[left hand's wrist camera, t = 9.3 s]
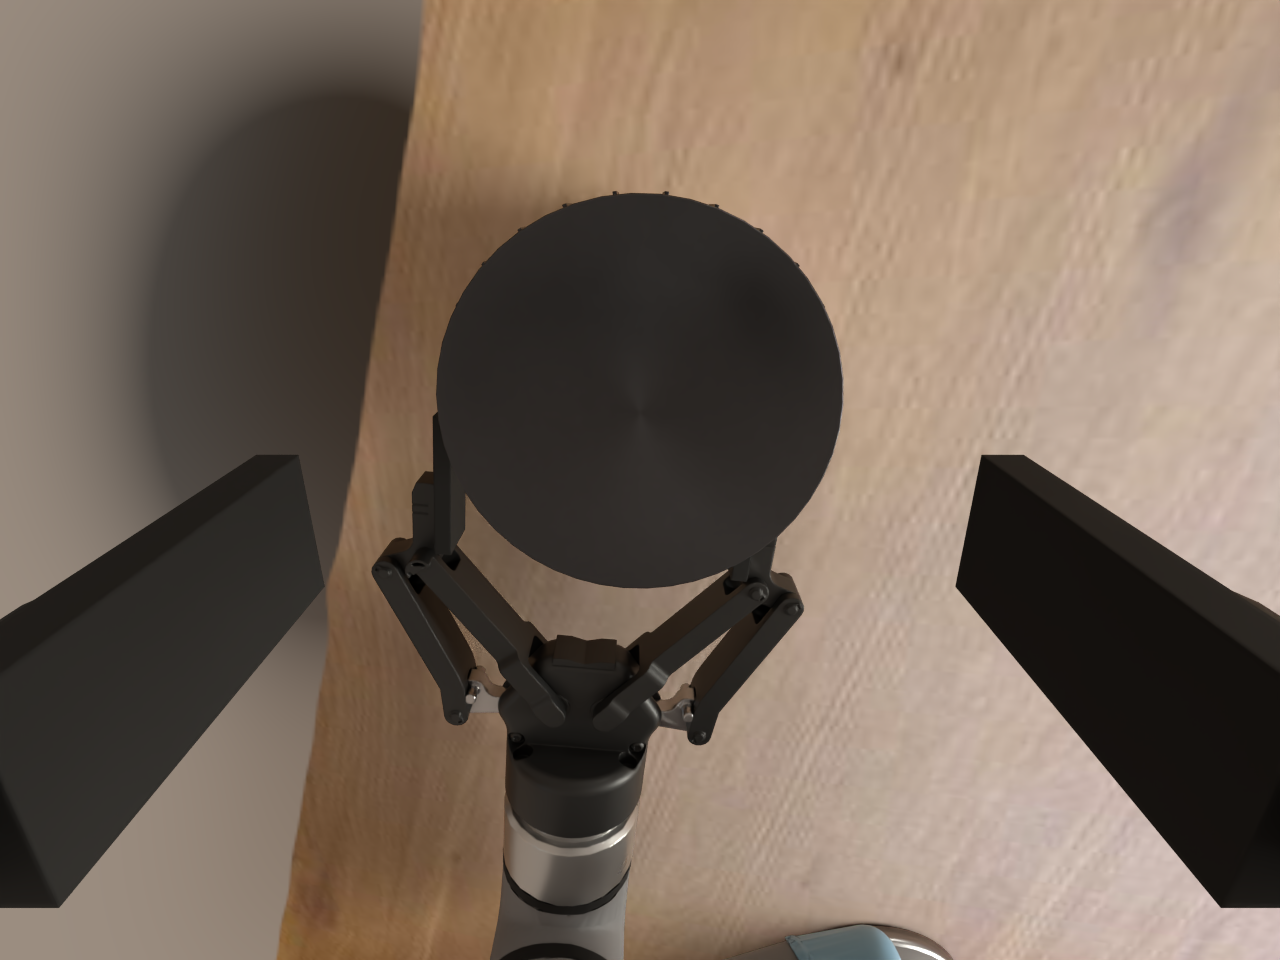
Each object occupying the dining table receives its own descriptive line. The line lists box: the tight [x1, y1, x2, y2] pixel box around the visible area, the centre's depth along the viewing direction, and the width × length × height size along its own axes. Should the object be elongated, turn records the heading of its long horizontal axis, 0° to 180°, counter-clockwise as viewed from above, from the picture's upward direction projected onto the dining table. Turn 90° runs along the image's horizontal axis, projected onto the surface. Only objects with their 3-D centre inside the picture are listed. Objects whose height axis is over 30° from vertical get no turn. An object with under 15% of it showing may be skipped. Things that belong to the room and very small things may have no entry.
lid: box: [436, 191, 843, 588], centre depth 21 cm, size 12×12×2 cm
